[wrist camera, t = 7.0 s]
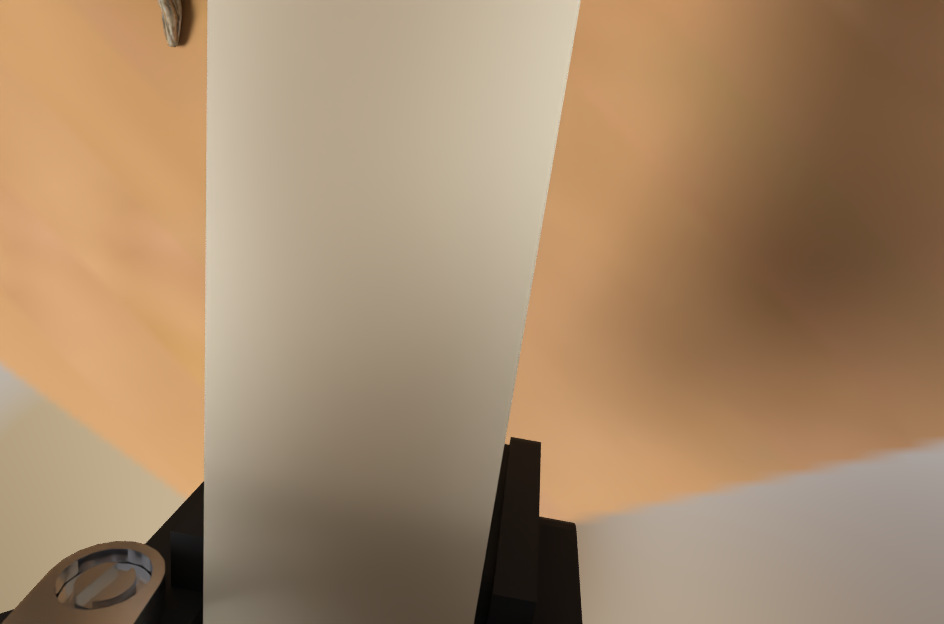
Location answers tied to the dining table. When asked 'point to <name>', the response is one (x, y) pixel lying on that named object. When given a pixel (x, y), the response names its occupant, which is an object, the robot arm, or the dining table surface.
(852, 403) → the dining table surface
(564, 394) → the dining table surface
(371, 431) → the cream wooden bar
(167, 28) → the eagle figurine
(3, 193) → the dining table surface
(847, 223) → the dining table surface
